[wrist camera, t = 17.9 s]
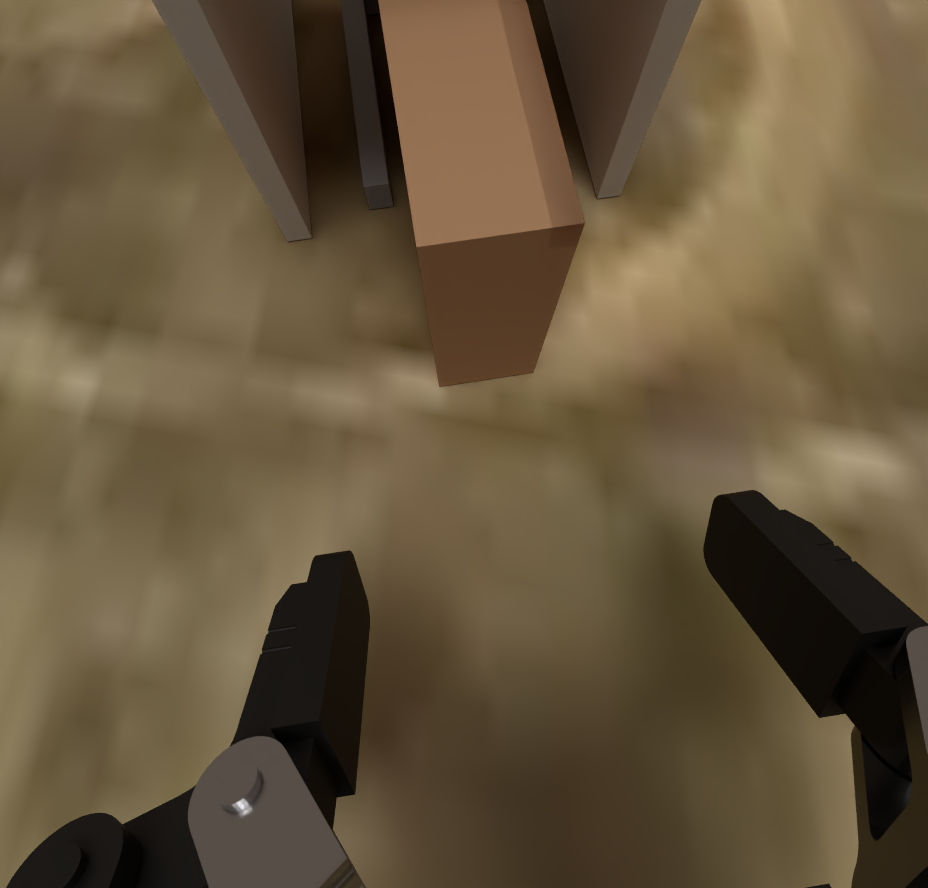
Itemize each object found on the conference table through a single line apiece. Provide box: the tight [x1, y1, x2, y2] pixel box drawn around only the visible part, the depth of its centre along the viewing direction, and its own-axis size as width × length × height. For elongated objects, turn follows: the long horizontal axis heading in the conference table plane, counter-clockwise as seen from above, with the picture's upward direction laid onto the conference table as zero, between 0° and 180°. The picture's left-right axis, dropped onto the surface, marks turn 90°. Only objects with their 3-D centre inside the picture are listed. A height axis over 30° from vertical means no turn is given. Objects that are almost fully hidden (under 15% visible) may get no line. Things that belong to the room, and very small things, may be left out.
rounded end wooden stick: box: [378, 0, 585, 387], centre depth 16 cm, size 18×4×8 cm, turn 9°
